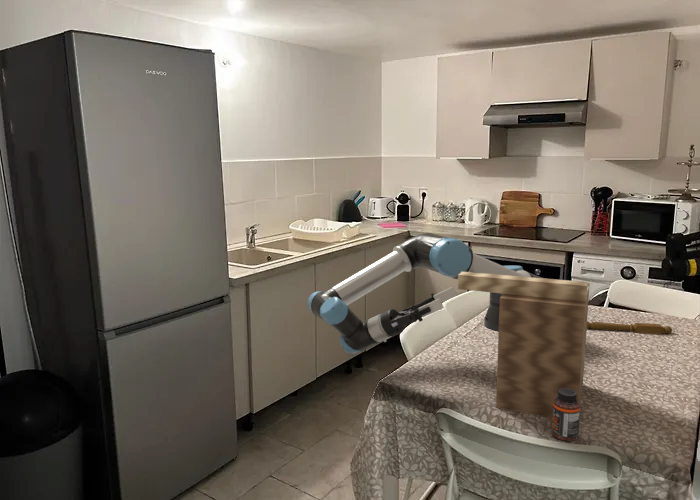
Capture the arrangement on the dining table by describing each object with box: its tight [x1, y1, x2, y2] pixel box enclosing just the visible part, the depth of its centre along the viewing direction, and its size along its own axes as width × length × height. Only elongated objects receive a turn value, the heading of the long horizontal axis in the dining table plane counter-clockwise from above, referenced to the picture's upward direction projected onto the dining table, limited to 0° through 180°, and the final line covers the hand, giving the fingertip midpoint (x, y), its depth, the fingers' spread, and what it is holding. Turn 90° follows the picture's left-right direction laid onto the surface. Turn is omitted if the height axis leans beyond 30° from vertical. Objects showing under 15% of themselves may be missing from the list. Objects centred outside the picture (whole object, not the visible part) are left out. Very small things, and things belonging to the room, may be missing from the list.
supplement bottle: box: [551, 388, 581, 442], centre depth 131 cm, size 6×6×11 cm
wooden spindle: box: [587, 320, 673, 335], centre depth 202 cm, size 3×3×30 cm
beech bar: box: [457, 272, 589, 302], centre depth 144 cm, size 32×4×4 cm, turn 64°
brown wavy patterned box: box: [495, 282, 591, 419], centre depth 150 cm, size 20×24×31 cm
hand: (448, 296), depth 153 cm, fingers open, 13 cm apart
